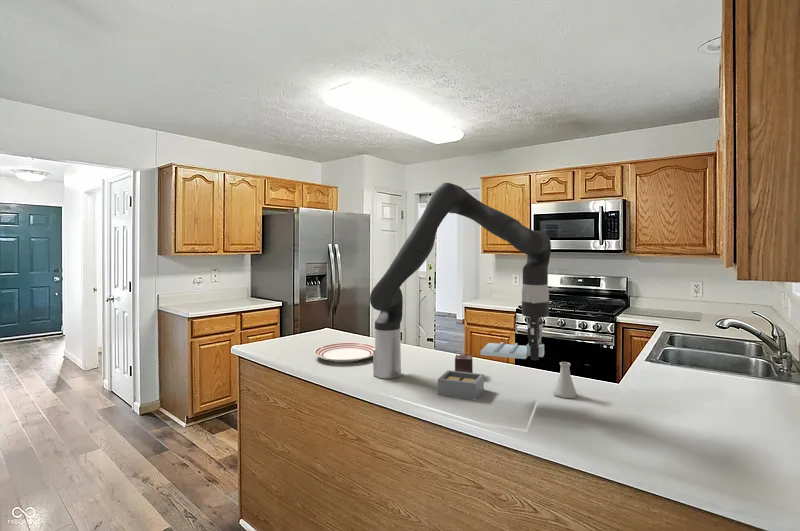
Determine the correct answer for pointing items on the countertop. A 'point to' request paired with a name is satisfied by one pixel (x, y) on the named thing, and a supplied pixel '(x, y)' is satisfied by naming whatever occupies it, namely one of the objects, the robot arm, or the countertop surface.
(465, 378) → the brass block
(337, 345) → the dinner plate
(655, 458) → the countertop surface
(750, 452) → the countertop surface
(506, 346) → the lid
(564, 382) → the flask
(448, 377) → the brass block
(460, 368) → the box
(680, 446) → the countertop surface
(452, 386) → the tub
